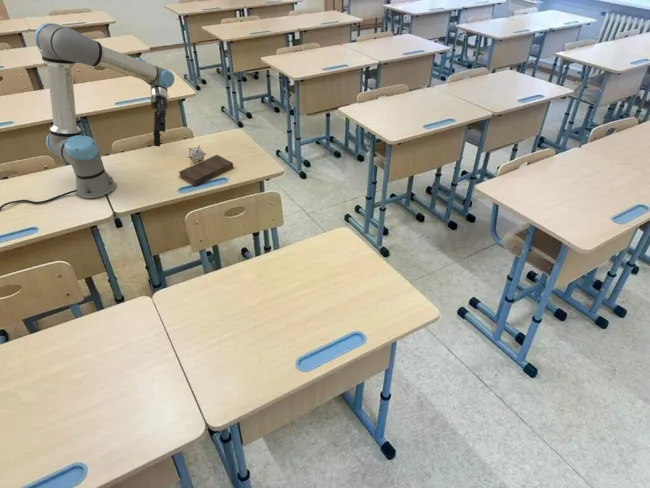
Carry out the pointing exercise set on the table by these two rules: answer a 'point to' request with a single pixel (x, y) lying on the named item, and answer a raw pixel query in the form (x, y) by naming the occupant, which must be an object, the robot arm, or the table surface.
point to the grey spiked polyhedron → (196, 155)
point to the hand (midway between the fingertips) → (159, 138)
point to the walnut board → (206, 170)
